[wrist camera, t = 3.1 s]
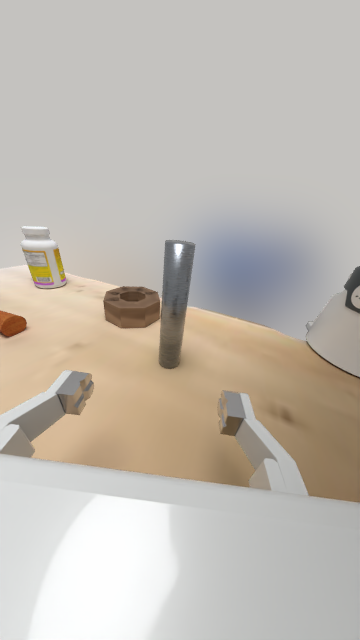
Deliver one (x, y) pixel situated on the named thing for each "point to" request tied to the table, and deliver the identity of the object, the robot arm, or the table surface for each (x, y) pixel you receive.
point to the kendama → (11, 324)
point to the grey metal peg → (174, 299)
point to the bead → (131, 307)
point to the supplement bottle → (43, 257)
